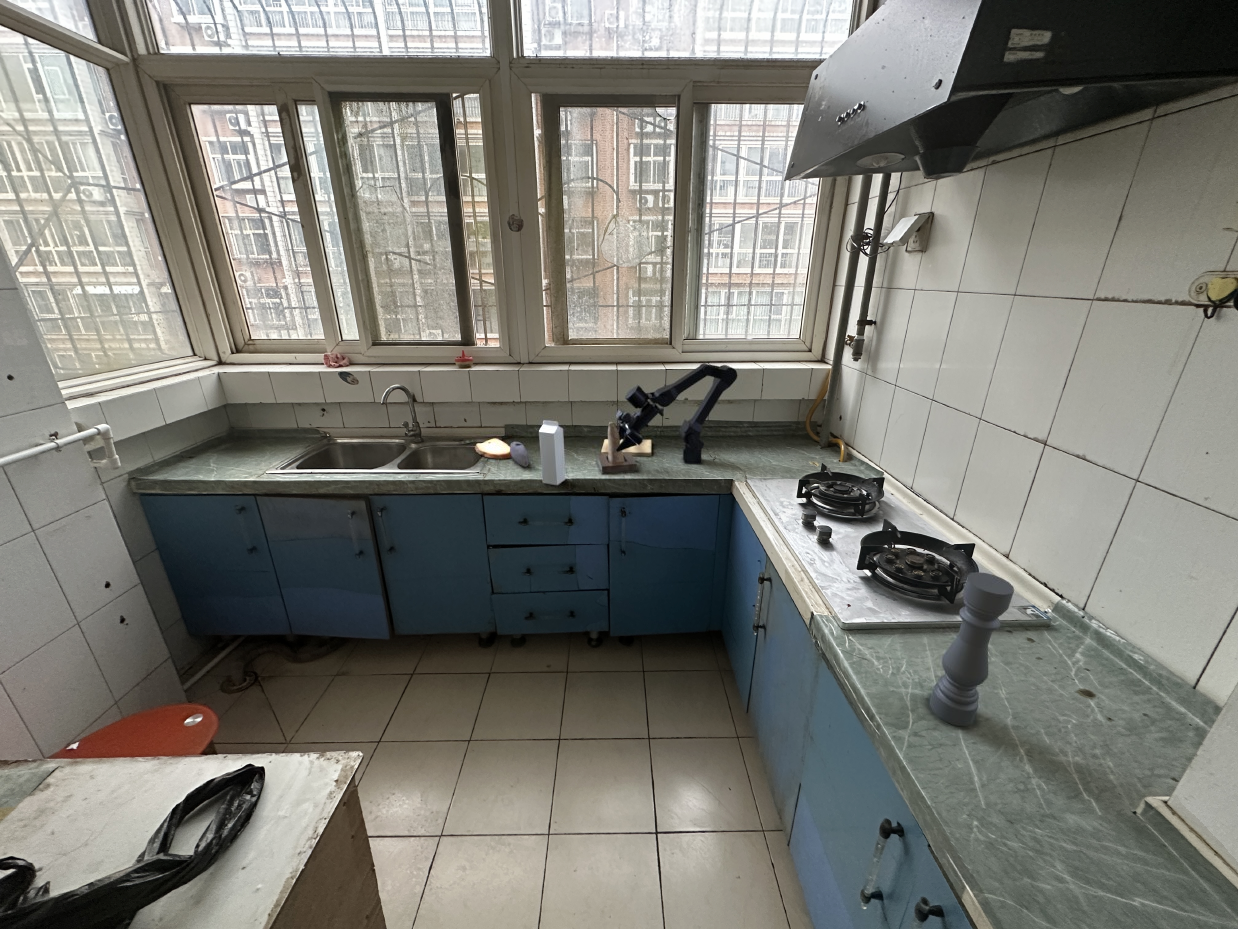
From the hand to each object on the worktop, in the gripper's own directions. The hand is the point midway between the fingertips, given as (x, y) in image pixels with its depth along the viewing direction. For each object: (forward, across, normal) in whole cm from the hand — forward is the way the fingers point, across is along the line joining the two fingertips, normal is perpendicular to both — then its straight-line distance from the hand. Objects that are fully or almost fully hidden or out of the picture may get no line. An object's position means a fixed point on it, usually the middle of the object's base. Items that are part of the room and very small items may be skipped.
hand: (614, 446), depth 185 cm
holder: (+5, 0, +6) cm, 8 cm away
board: (0, -19, +11) cm, 22 cm away
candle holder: (-20, +121, +31) cm, 126 cm away
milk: (+22, +10, -11) cm, 26 cm away
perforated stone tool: (+30, -11, -19) cm, 37 cm away
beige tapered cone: (+5, 0, +6) cm, 8 cm away
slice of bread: (+38, -26, -26) cm, 53 cm away
